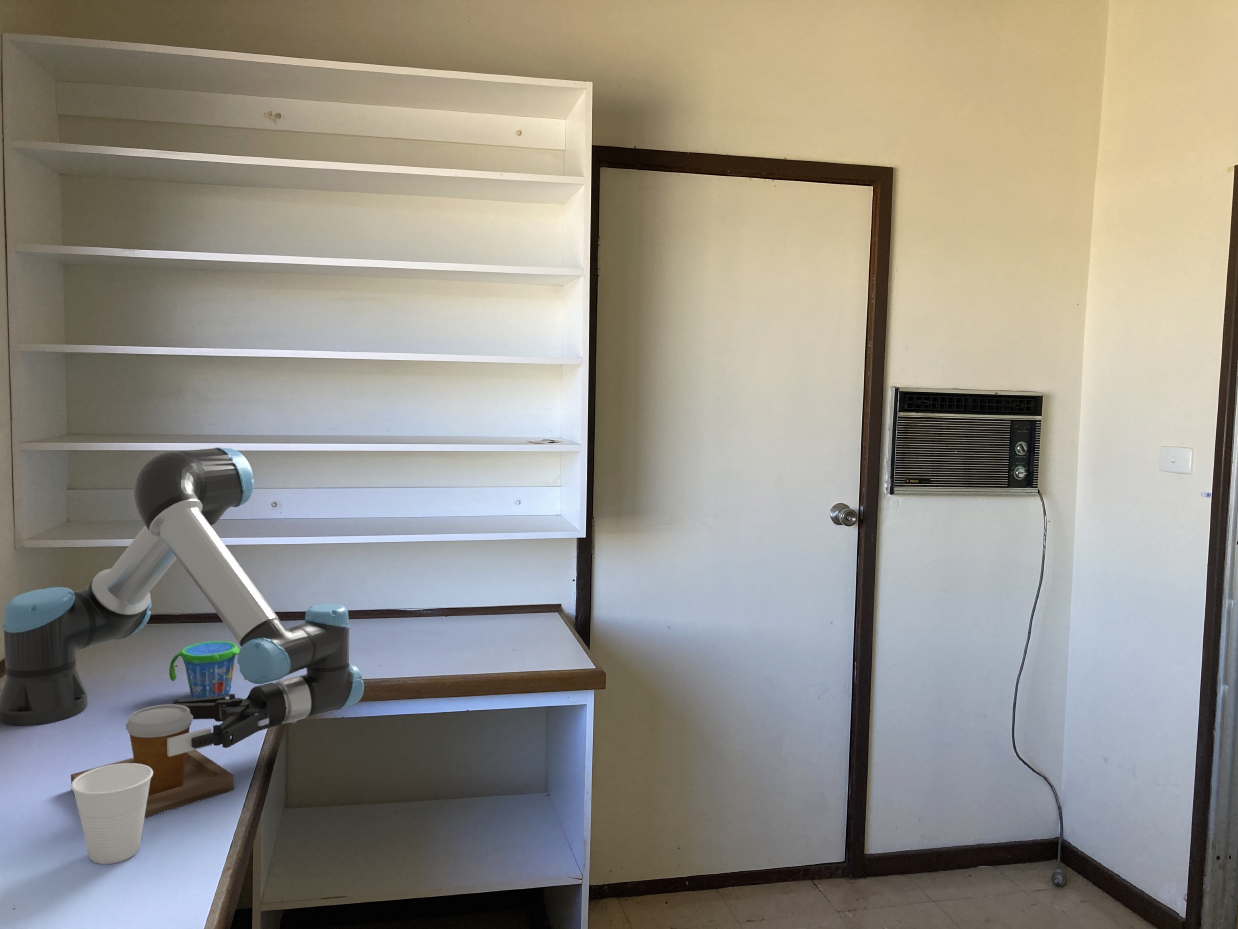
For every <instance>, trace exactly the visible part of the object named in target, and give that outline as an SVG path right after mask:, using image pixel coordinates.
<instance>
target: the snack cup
mask: <svg viewBox="0 0 1238 929" xmlns="http://www.w3.org/2000/svg"><path fill="white" fill-rule="evenodd" d="M240 649H241V648H238V646H237V644H236V643H235V642H232V641H227V640H226V641H224V640H223V641H222V640H216V641H215V640H214V641H204V642H198V643H194V644H191V645H188V646H185V647H184V648H183V649H182V650H180V651H179V652H177V653H176V654H175V655H174V657H172V659H171V661H170V662H169V669H168V670H169V672H168V674H169V678H170V681H172V682H174V681H176V679H177V674H176V667H175V662H176V661H177V660H178V658H179V657H181V659H182V660H183V663H184V666H185V673H186V677H187V678H186V679H187V683H188V687H189V693H190V696H191V698H192V699H194V698H204V697H215V696H223V695H228V694H231V690H232V689H231V688H232V682H233V675H234V668H235V660H236V655H237V656H238V653H239V650H240ZM243 680H245V681H247V680H246V679H245V678H244V677H243Z"/></svg>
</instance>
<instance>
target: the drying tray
mask: <svg viewBox="0 0 1238 929" xmlns="http://www.w3.org/2000/svg"><path fill="white" fill-rule="evenodd" d="M121 763H134V757H131V758H127V759H124V760H120V761H116V762H112V763H108V764H105V765H101V766H97V767H93V768H90V769H86V770H83V771H78V772H75V773H71V774H70V781H71V782H70V785H71V784H72V782H73V780H74V779H75V778H77V777H78V776H80V775H81V774H83V773H85V772H88V771H90V770H93V769H96V768H99V767H103V766H107V765H113V764H121ZM234 777H235V775H234V774H233V773H232V772H230V771H228V770H227V769H226V768H224V767H223V766H221V765H219V764H218V763H217V762H215V761H213V760H212V759H210V758H209V757H207V756H205V755H204V754H203V753H202V752H200V751H198V749H196V750H192V751H189V752H187V755H186V764H185V773H184V781H183V786H180V787H177V788H174V789H171V790H167V791H164V792H161V793H157V794H154V795H151V796H149V795H148V798H147V804H146V810H145V817H147V818H149V817H148V816H150V817H152V815H153V816H155V815H154V814H156V815H159V814H161V812H162V813H165V812H164V811H166V812H168V811H167V810H169V811H171V810H175V809H179V808H181V807H184V805H185V806H187V804H188V805H191V804H193V802H194V803H197V802H200V801H203V800H202V799H204V800H206V798H207V799H209V798H212V797H215V796H218V795H219V796H220V795H222V794H225V793H229V792H231V791H234V790H235V780H234V779H235V778H234ZM70 789H71V788H70ZM71 791H72V792H73V793H74V791H73V790H72V789H71ZM199 800H200V801H199ZM196 801H197V802H196ZM190 803H191V804H190ZM158 813H159V814H158ZM145 817H144V819H146V818H145Z"/></svg>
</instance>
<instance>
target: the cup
mask: <svg viewBox="0 0 1238 929" xmlns="http://www.w3.org/2000/svg"><path fill="white" fill-rule="evenodd" d="M106 765H107V766H104V765H102V766H103V767H100V766H98V767H99V768H97V767H95V768H96V769H93V768H92V769H93V770H90V771H88V772H85V773H83V774H81V775H80V776H78V777H77V778H75V779H74V780H73V782H72V784H71V783H70V789H72V790H73V791H74V792H73V791H72V790H71V791H72V792H73V793H74V797H75V801H76V802H75V803H76V806H77V807H76V808H77V811H78V814H79V818H80V823H81V826H82V832H83V835H84V840H85V844H86V848H87V853H88V857H89V859H90V860H91V861H92V862H93V863H95V864H99V865H113V864H117V863H121V862H124V861H126V860H128V859H131V858H132V857H133V856H134V855H136V853H137V852H139V850H140V847H141V842H142V835H143V831H144V830H143V828H144V823H145V822H144V821H145V818H144V817H145V810H146V804H147V798H148V792H149V786H150V779H151V777H152V776H153V770H152V769H151V768H150V767H149V766H146V765H143V764H137V763H121V764H113V765H108V764H106Z"/></svg>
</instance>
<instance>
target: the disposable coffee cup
mask: <svg viewBox="0 0 1238 929" xmlns="http://www.w3.org/2000/svg"><path fill="white" fill-rule="evenodd" d="M193 720H194V719H193V716H192V715H191V713H190V710H189V708H188V707H186V706H183V705H174V704H173V703H172V704H171V703H169V704H158V705H152V706H147V707H144V708H141V709H138V710H136V711H134V712H133V713H131V714H130V715H129V717H128V720H127V723H125V729H126V730H127V733H128V734H129V738H130V743H131V744H130V745H131V750H132V758H134V763H137V764H143V765H146V766H149V767H150V768H151V769H152V770H153V776H152V777H151V779H150V786H149V792H148V795H149V796H151V795H154V794H157V793H161V792H164V791H167V790H171V789H174V788H177V787H180V786H183V781H184V773H185V764H186V755H187V752H185V753H181V754H178V755H174V756H170V757H169V756H168V755H167V738H170V737H174V736H178V735H182V734H186V733H190V727H191V725H192V722H193Z"/></svg>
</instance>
